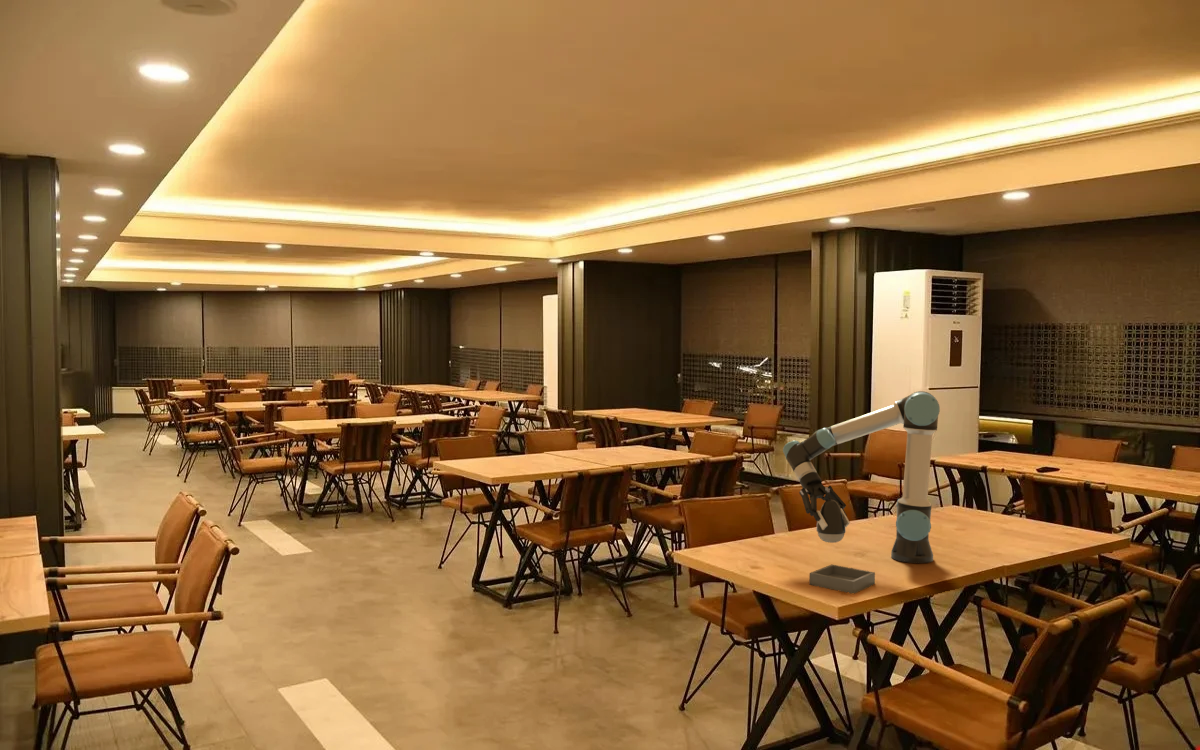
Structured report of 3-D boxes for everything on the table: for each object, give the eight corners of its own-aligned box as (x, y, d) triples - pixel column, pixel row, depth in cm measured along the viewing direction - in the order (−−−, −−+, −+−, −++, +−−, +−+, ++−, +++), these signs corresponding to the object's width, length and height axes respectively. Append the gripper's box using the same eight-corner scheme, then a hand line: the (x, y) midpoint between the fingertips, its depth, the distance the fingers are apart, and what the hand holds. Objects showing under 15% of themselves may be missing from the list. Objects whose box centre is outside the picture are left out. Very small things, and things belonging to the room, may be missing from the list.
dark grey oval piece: (840, 537, 315) (840, 496, 314) (849, 544, 304) (849, 501, 304) (812, 538, 315) (812, 497, 314) (821, 544, 304) (821, 502, 304)
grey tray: (831, 575, 301) (831, 564, 301) (874, 584, 290) (874, 572, 290) (809, 584, 289) (809, 572, 289) (853, 593, 278) (853, 581, 278)
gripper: (826, 481, 328) (855, 529, 314) (779, 485, 318) (806, 535, 304) (836, 469, 323) (865, 517, 309) (788, 472, 313) (816, 523, 299)
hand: (836, 526), depth 307 cm, fingers closed on dark grey oval piece, 9 cm apart
